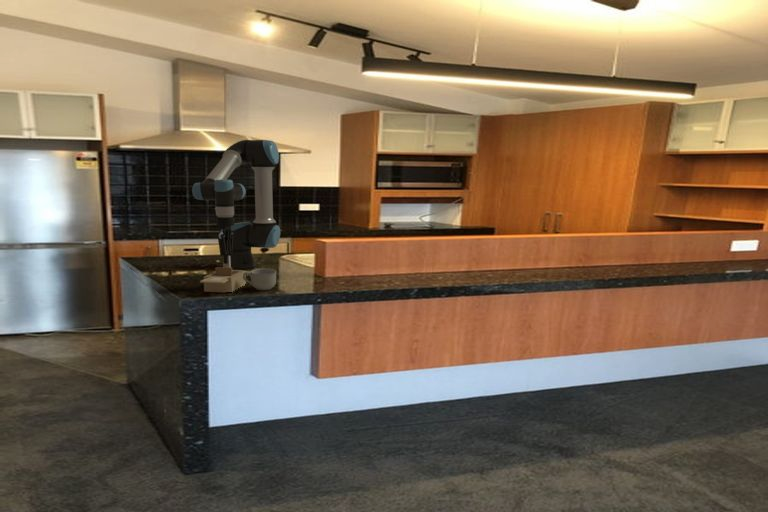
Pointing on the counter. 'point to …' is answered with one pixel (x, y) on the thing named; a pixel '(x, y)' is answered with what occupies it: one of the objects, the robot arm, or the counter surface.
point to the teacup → (262, 278)
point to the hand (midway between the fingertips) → (227, 270)
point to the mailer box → (226, 283)
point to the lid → (219, 275)
